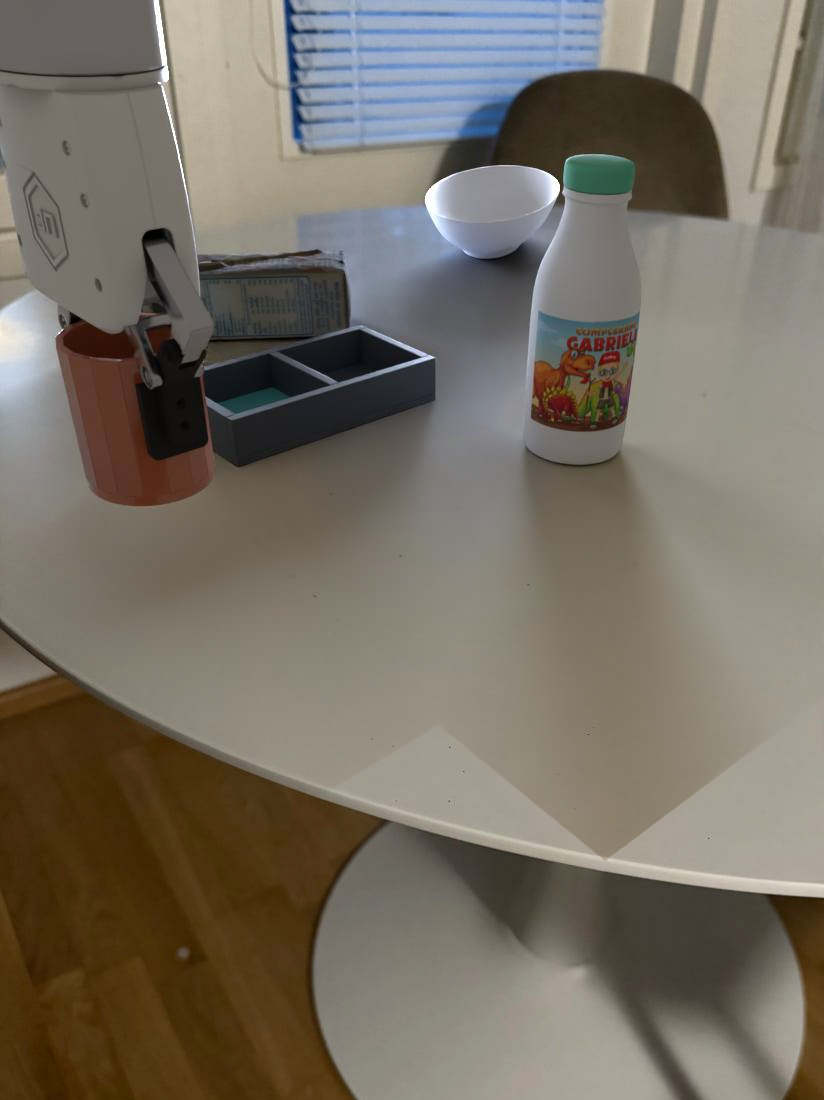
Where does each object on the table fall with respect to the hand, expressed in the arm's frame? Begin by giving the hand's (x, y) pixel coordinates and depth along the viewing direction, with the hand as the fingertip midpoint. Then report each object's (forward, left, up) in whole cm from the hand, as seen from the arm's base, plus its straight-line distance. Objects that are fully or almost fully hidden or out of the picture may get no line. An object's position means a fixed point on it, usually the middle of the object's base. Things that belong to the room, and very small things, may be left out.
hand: (142, 423), depth 51 cm
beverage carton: (-33, +27, -10) cm, 44 cm away
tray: (-15, +20, -10) cm, 27 cm away
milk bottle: (+3, +32, -10) cm, 34 cm away
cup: (0, 0, -3) cm, 3 cm away
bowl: (-41, +66, -10) cm, 78 cm away
